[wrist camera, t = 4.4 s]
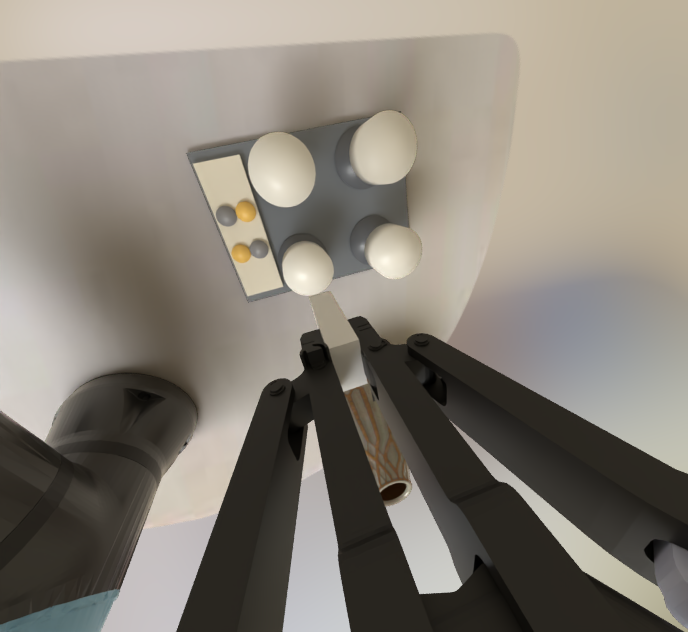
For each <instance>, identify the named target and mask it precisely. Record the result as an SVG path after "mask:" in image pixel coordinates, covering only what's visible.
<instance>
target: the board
mask: <svg viewBox="0 0 688 632" xmlns="http://www.w3.org/2000/svg"><path fill="white" fill-rule="evenodd" d="M399 113H401V111H399ZM370 118H372V117H369V118H363V119H358V120H353V121H348V122H343V123H338V124H333V125H327V126H322V127H317V128H312V129H307V130H302V131H297V132H292V133H288V134H290V135H292V136H294V137H296V138H297V139H299V140H300V141H301V142H302V143H303V144H304V145H305V146H306V147H307V149H308V150H309V152H310V154H311V156H312V158H313V161H314V164H315V172H316V176H315V183H314V187H313V189H312V191H311V193H310V195H309V196H308V197H307V198H306V199H305V200H304V201H303V202H302V203H300V204H298V205H296V206H293V207H279V206H275V205H273V204H271V203H269V202H267V201H266V200H264V199H263V198H262V197H261V196H260V195H259V194H258V192H257V191H256V190H255V188H254V186H253V184H252V182H251V180H250V176H249V171H248V159H249V154H250V151H251V149H252V147H253V145H254V144H255V143H256V141H257V140H258V139H256V140H250V141H245V142H240V143H235V144H230V145H225V146H220V147H215V148H209V149H204V150H199V151H194V152H189V153H186V154H187V156H188V159H189V161H190V164H191V166H192V168H193V171H194V173H195V176H196V178H197V180H198V183H199V185H200V188H201V190H202V192H203V195H204V197H205V200H206V202H207V204H208V207H209V209H210V212H211V214H212V216H213V219H214V221H215V224H216V226H217V228H218V231H219V233H220V236H221V238H222V240H223V243H224V245H225V248H226V250H227V252H228V255H229V257H230V260H231V262H232V265H233V267H234V269H235V272H236V274H237V277H238V279H239V281H240V284H241V286H242V289H243V291H244V293H245V296H246V298H247V301H248V303H249V302H252V301H256V300H259V299H263V298H267V297H270V296H274V295H278V294H281V293H285V292H289V291H292V290H291V289H290V288H289V286H288V285H287V284H286V282H285V280H284V276H283V269H282V259H283V256H284V253H285V252H286V250H287V249H288V248H289V247H290V246H291V245H293V244H294V243H296V242H300V241H311V242H314V243H316V244H318V245H319V246H320V247H322V248H323V250H324V251H325V252H326V253H327V254H328V256H329V257H330V259H331V260H332V263H333V267H334V274H333V278H332V279H336V278H340V277H343V276H347V275H351V274H354V273H358V272H362V271H365V270H369V269H373V268H372V267H371V266H370V265H369V264H368V262H367V260H366V258H365V253H364V248H365V243H366V240H367V238H368V236H369V234H370V233H371V232H372V231H373V230H374V229H375V228H376V227H378V226H380V225H382V224H387V223H391V224H396V225H399V226H403V227H407V228H409V222H408V208H407V193H406V179H405V176H404V177H403V178H402V179H401V180H399V181H397V182H395V183H392V184H381V185H371V184H367V183H365V182H363V181H362V180H361V179H359V178H358V177H357V175H356V174H355V172H354V171H353V169H352V166H351V163H350V157H349V149H350V143H351V140H352V137H353V135H354V133H355V132H356V130H357V129H358V128H359V127H360V126H361V125H362V124H364V123H365V122H366V121H368V120H369V119H370Z"/></svg>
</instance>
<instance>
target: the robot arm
mask: <svg viewBox="0 0 688 632" xmlns="http://www.w3.org/2000/svg"><path fill="white" fill-rule="evenodd" d="M309 300H310V303H311V307H312V310H313V314H314V317H315V321H316V324H317V328H318V330H314V331H311V332H308V333H304V334H303V335H302V337H301V339H300V341H301V346H302V350H301V351H300V358H301V360H302V363H303V366H304V371H303V373H302V374H301V375H300V376H299V377H298V378H296V379H294V380H293V381H290V380H288V379H285V378H284V379H277V380H274V381H272V382H270V383H269V384H268V385H267V386H266V387H265V388H264V389H263V391H262V393H261V396H260V399H259V402H258V405H257V407H256V410H255V413H254V416H253V419H252V421H251V424H250V427H249V430H248V433H247V435H246V438H245V441H244V444H243V447H242V449H241V452H240V455H239V458H238V461H237V463H236V466H235V469H234V472H233V475H232V477H231V480H230V483H229V486H228V489H227V491H226V494H225V497H224V500H223V503H222V505H221V508H220V511H219V514H218V517H217V519H216V522H215V525H214V528H213V531H212V533H211V536H210V539H209V542H208V545H207V547H206V550H205V553H204V556H203V558H202V561H201V564H200V567H199V570H198V572H197V575H196V578H195V581H194V584H193V586H192V589H191V592H190V595H189V598H188V601H187V603H186V606H185V609H184V612H183V614H182V617H181V620H180V623H179V626H178V628H177V631H176V632H282V630H283V622H284V614H285V605H286V598H287V590H288V582H289V574H290V566H291V558H292V550H293V542H294V533H295V526H296V518H297V510H298V502H299V493H300V486H301V478H302V470H303V462H304V454H305V446H306V438H307V430H308V425H307V424H308V423H309V422H311V421H312V420H314V421H315V426H316V432H317V437H318V442H319V447H320V453H321V458H322V463H323V468H324V474H325V479H326V484H327V489H328V494H329V500H330V505H331V510H332V515H333V521H334V526H335V531H336V536H337V541H338V549H339V550H338V561H339V568H340V574H341V580H342V586H343V591H344V596H345V602H346V607H347V613H348V618H349V623H350V629H351V632H684V631H682V630H680V629H678V628H677V627H675V626H674V625H672V624H670V623H669V622H667V621H665V620H664V619H662V618H660V617H658V616H657V615H655V614H654V613H652V612H650V611H649V610H647V609H645V608H644V607H642V606H640V605H638V604H637V603H635V602H634V601H632V600H630V599H629V598H627V597H625V596H623V595H622V594H620V593H618V592H617V591H615V590H613V589H612V588H610V587H608V586H607V585H605V584H603V583H602V582H600V581H598V580H597V579H595V578H593V577H592V576H590V575H588V574H587V573H585V572H583V571H582V570H581V569H580V568H579V566H578V565H577V564H576V563H575V562H574V560H573V559H572V558H571V557H570V555H569V554H568V553H567V552H566V550H565V549H564V548H563V547H562V546H561V544H560V543H559V542H558V541H557V539H556V538H555V537H554V536H553V535H552V533H551V532H550V531H549V530H548V529H547V527H546V526H545V525H544V523H543V522H542V521H541V520H540V519H539V517H538V516H537V515H536V514H535V513H534V511H533V510H532V509H531V508H530V506H529V505H528V504H527V503H526V501H525V500H524V499H523V498H522V497H521V496H520V495H519V493H518V492H517V491H516V490H515V489H514V488H513V487H511V486H510V485H508V484H507V483H504V482H499V481H497V480H496V479H495V478H494V477H493V476H492V475H491V473H490V472H489V471H488V470H487V468H486V467H485V466H484V465H483V463H482V462H481V461H480V459H479V458H478V457H477V455H476V454H475V453H474V452H473V450H472V449H471V448H470V446H469V445H468V444H467V442H466V441H465V440H464V439H463V437H462V436H461V435H460V433H459V432H458V431H457V430H456V428H455V427H454V426H453V424H452V423H451V422H450V421H452V422H453V423H454V424H455V425H456V426H458V427H459V428H460V429H461V430H462V431H464V432H465V433H466V434H467V435H468V436H469V437H471V438H472V439H473V440H474V441H475V442H477V443H478V444H479V445H480V446H481V447H483V448H484V449H485V450H486V451H487V452H488V453H490V454H491V455H492V456H493V457H494V458H495V459H497V460H498V461H499V462H500V463H501V464H503V465H504V466H505V467H506V468H507V469H508V470H510V471H511V472H512V473H513V474H514V475H516V476H517V477H518V478H519V479H520V480H521V481H523V482H524V483H525V484H526V485H528V486H529V487H530V488H531V489H532V490H533V491H534V492H536V493H537V494H538V495H539V496H540V497H542V498H543V499H544V500H545V501H546V502H547V503H549V504H550V505H551V506H552V507H553V508H555V509H556V510H557V511H558V512H559V513H560V514H562V515H563V516H564V517H565V518H566V519H568V520H569V521H570V522H571V523H572V524H574V525H575V526H576V527H577V528H578V529H580V530H581V531H582V532H583V533H584V534H585V535H587V536H588V537H589V538H590V539H592V540H593V541H594V542H595V543H597V544H598V545H599V546H601V547H602V548H603V549H604V550H605V551H607V552H608V553H609V554H611V555H612V556H613V557H615V558H616V559H618V560H619V561H621V562H622V563H623V564H625V565H627V566H628V567H629V568H631V569H632V570H633V571H635V572H636V573H638V574H639V575H641V576H642V577H644V578H646V579H647V580H649V581H650V582H652V583H654V584H655V585H657V586H658V587H659V588H660V590H661V592H662V594H663V596H664V600H665V604H666V607H667V608H668V610H669V611H670V613H671V614H672V616H673V617H674V618H675V619H676V620H677V621H678V622H679V623H681V624H682V625H683V626H684V627H686V628H687V629H688V474H687V473H684V472H681V471H679V470H676V469H674V468H672V467H670V466H669V465H667V464H665V463H663V462H661V461H660V460H658V459H656V458H654V457H652V456H650V455H649V454H647V453H645V452H643V451H641V450H639V449H638V448H636V447H634V446H632V445H630V444H629V443H626V442H625V441H623V440H621V439H619V438H618V437H616V436H614V435H612V434H610V433H608V432H607V431H605V430H603V429H601V428H599V427H598V426H596V425H594V424H592V423H590V422H588V421H587V420H584V419H583V418H581V417H579V416H578V415H576V414H574V413H572V412H570V411H568V410H567V409H565V408H563V407H561V406H559V405H558V404H556V403H554V402H552V401H550V400H548V399H547V398H544V397H543V396H541V395H539V394H537V393H536V392H534V391H532V390H530V389H528V388H526V387H525V386H523V385H521V384H519V383H517V382H516V381H514V380H512V379H510V378H508V377H506V376H505V375H503V374H501V373H499V372H497V371H496V370H494V369H492V368H490V367H488V366H486V365H484V364H483V363H481V362H479V361H477V360H476V359H474V358H472V357H470V356H468V355H466V354H465V353H462V352H461V351H459V350H457V349H455V348H453V347H452V346H450V345H448V344H446V343H445V342H443V341H441V340H439V339H437V338H435V337H434V336H432V335H429V334H423V333H420V334H415V335H412V336H410V337H409V338H408V340H407V344H402V345H391V344H390V343H389V342H388V341H387V340H385V339H382V338H380V337H379V335H378V334H377V333H376V331H375V330H374V329H373V328H372V326H371V325H370V324H369V322H368V321H367V319H365V318H363V317H361V316H359V317H355V318H352V319H349V320H347V319H346V317H345V315H344V314H343V312H342V310H341V308H340V307H339V305H338V303H337V302H336V300H335V298H334V297H333V295H332V293H331V291H327V292H324V293H320V294H317V295H313V296H310V297H309ZM366 377H367V378H366ZM367 379H368V381H369V383H370V388H371V394H372V399H373V402H374V401H375V400H376V402H377V404H378V406H379V408H380V410H381V412H382V414H383V416H384V418H385V420H386V422H387V424H388V426H389V428H390V430H391V432H392V434H393V436H394V438H395V440H396V442H397V444H398V446H399V448H400V450H401V452H402V454H403V456H404V458H405V460H406V462H407V465H408V467H409V469H410V470H411V473H412V475H413V477H414V479H415V481H416V483H417V485H418V487H419V489H420V491H421V493H422V495H423V497H424V499H425V501H426V503H427V505H428V507H429V509H430V511H431V513H432V515H433V517H434V519H435V521H436V523H437V525H438V527H439V529H440V531H441V533H442V535H443V537H444V539H445V541H446V543H447V546H448V548H449V550H450V553H451V556H452V559H453V563H454V566H455V568H456V571H457V573H458V575H459V577H460V580H461V582H462V584H463V585H462V586H461V587H460V588H459V589H458V590H457V591H455V592H450V593H433V594H419V592H418V590H417V587H416V584H415V581H414V579H413V576H412V573H411V570H410V568H409V565H408V562H407V560H406V557H405V554H404V551H403V549H402V546H401V544H400V541H399V538H398V536H397V534H396V531H395V529H394V528H393V526H392V523H391V521H390V518H389V516H388V513H387V510H386V507H385V505H384V502H383V499H382V496H381V494H380V491H379V488H378V485H377V483H376V480H375V477H374V474H373V472H372V469H371V466H370V463H369V461H368V458H367V455H366V452H365V450H364V447H363V444H362V441H361V439H360V436H359V433H358V430H357V428H356V425H355V422H354V419H353V417H352V414H351V411H350V408H349V406H348V403H347V400H346V397H345V395H344V391H347V390H350V389H353V388H356V387H359V386H362V385H365V384H368V383H367ZM449 420H450V421H449ZM196 423H197V411H196V407H195V405H194V403H193V401H192V400H191V398H190V397H189V396H188V395H187V394H186V393H185V392H184V391H183V390H181V389H180V388H179V387H177V386H175V385H174V384H172V383H170V382H168V381H165V380H163V379H160V378H156V377H153V376H148V375H142V374H114V375H108V376H104V377H100V378H97V379H94V380H92V381H89V382H87V383H86V384H84V385H82V386H81V387H79V388H78V389H77V390H76V391H75V392H74V393H73V394H72V395H71V396H70V397H69V398H68V399H67V400H66V401H65V402H64V403H63V404H62V405H61V406H60V408H59V409H58V411H57V412H56V414H55V417H54V420H53V423H52V427H51V429H50V431H49V434H48V436H47V438H46V440H45V442H44V441H42V440H41V439H39V438H38V437H36V436H35V435H34V434H32V433H31V432H29V431H28V430H26V429H25V428H24V427H22V426H21V425H19V424H18V423H17V422H15V421H14V420H13V419H11V418H10V417H9V416H7V415H6V414H4V413H3V412H2V411H0V632H101V630H102V627H103V625H104V622H105V620H106V618H107V616H108V614H109V611H110V609H111V607H112V604H113V602H114V601H115V600H116V599H117V598H118V596H119V592H120V588H121V586H122V583H123V580H124V577H125V575H126V572H127V569H128V567H129V564H130V561H131V558H132V556H133V553H134V551H135V548H136V545H137V542H138V540H139V537H140V534H141V531H142V529H143V526H144V524H145V521H146V518H147V515H148V513H149V510H150V507H151V505H152V502H153V499H154V496H155V494H156V491H157V488H158V486H159V483H160V481H161V478H162V477H163V475H164V474H165V473H166V472H167V470H168V469H169V468H170V467H171V465H172V464H173V463H174V461H175V460H176V458H177V456H178V455H179V454H180V453H181V452H182V451H183V450H184V449H185V448H186V446H187V445H188V443H189V442H190V440H191V438H192V435H193V432H194V429H195V426H196Z"/></svg>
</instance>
